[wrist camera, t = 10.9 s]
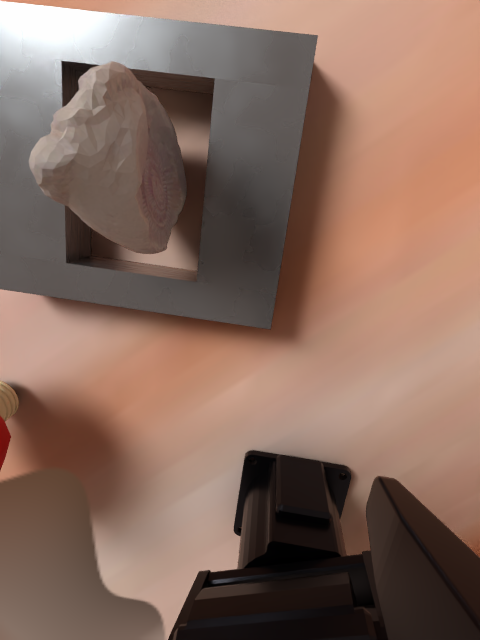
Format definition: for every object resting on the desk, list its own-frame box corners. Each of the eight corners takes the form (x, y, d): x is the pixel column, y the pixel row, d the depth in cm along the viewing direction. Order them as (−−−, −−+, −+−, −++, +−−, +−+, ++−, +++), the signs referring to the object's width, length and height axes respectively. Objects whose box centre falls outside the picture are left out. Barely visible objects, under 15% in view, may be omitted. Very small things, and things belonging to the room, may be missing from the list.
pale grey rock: (196, 243, 19) (120, 283, 10) (131, 237, 20) (-3, 270, 10) (202, 120, 18) (116, 26, 8) (131, 115, 18) (-34, 16, 8)
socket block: (271, 314, 20) (270, 329, 18) (26, 278, 21) (-6, 288, 19) (311, 59, 16) (317, 35, 14) (11, 26, 17) (-32, -3, 15)
